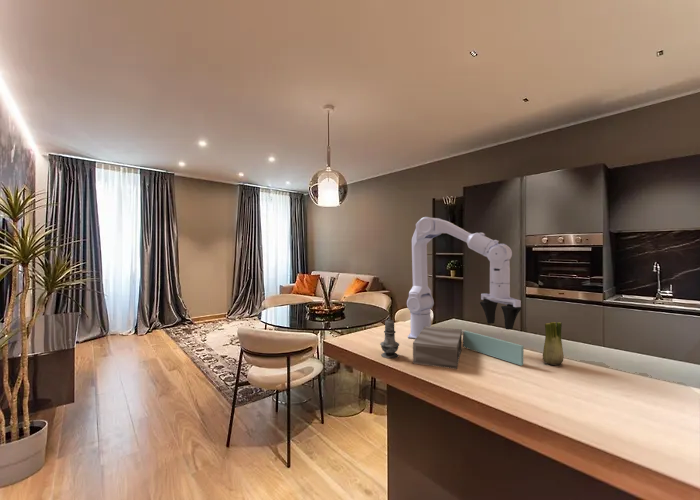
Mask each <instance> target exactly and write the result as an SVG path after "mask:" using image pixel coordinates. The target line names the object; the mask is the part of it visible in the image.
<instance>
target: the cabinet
mask: <svg viewBox="0 0 700 500" xmlns="http://www.w3.org/2000/svg"><path fill="white" fill-rule="evenodd" d="M462 347H463V329H459V328H448V327H438V326H437V327H436V326H431V327H429V326H425V327H424V328H423V329H422V331H421V332H420V334H419V335H418V336H417V338H416V339H415V338H414V340H413V341H412V364H415V365H423V366H430V367H431V366H432V367H437V368H438V367H439V368H443V369H444V368H445V369H453V370H457V369H458V365H459V362H460V357H461V356H460V355H461V353H462V352H461V351H462Z"/></svg>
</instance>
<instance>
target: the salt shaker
mask: <svg viewBox="0 0 700 500" xmlns="http://www.w3.org/2000/svg"><path fill="white" fill-rule="evenodd" d="M383 333H384V340H383V341H380V343H379V345H380V347H381V350H382V351H383V352H382V353H381V354H380V355H381V357H382V358H384V359H390V360H391V359H392V360H393V359H396V358H399V354H398V353H397V351H398V349H399V346H400V343H399V342H397V341H396V337H395V335H396V330H395V321H394V320H392V319H391V317H390V316H388V319H386V320H385V322H384V331H383Z"/></svg>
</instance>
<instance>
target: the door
mask: <svg viewBox="0 0 700 500" xmlns="http://www.w3.org/2000/svg"><path fill="white" fill-rule="evenodd" d="M462 347H463V348H465V349H467V350H471V351H474V352H477V353H480V354H483V355H486V356H489V357H490V356H491V357H494V358H495V359H496V358H497V359H498V360H503V361H506V362H508V363H512V364H515V365H518V366H521V367H522V366H524V356H525V355H524V348H525V347H524V345H523V344H518V343H515V342H511V341H507V340H503V339H500V338H496V337H492V336H489V335H484V334H481V333H477V332H473V331H470V330H463V329H462Z"/></svg>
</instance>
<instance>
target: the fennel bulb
mask: <svg viewBox="0 0 700 500" xmlns="http://www.w3.org/2000/svg"><path fill="white" fill-rule="evenodd" d="M562 323H563V322H560V321H557V322H556V321H553V322H552V321H550V322H547V323H544V330H545V331H544V333H545V334H544V335H545V337H544V338H545V339H544V343H543V352H542V361H543V362H544V363H546V364H548V365H550V366H551V365H553V366H557V365H558V366H559V365H562V364H563V362H564V360H565V357H564V355H565V354H564V351H563V350H564V349H563V348H564V347H563V340H562V327H563V326H562V325H563V324H562Z"/></svg>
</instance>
